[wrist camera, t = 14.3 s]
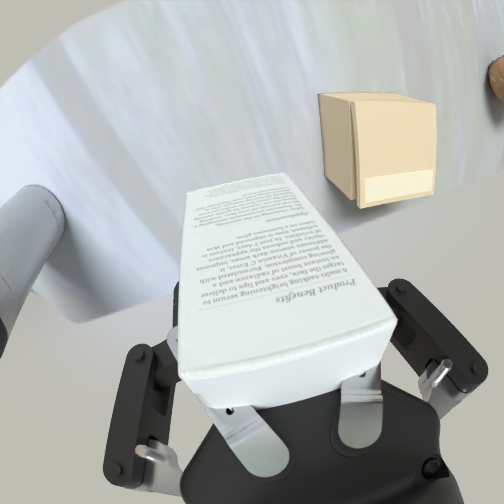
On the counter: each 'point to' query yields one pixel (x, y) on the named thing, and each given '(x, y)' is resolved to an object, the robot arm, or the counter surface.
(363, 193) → the lid
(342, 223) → the counter surface
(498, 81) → the onion
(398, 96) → the carton
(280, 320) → the small box
